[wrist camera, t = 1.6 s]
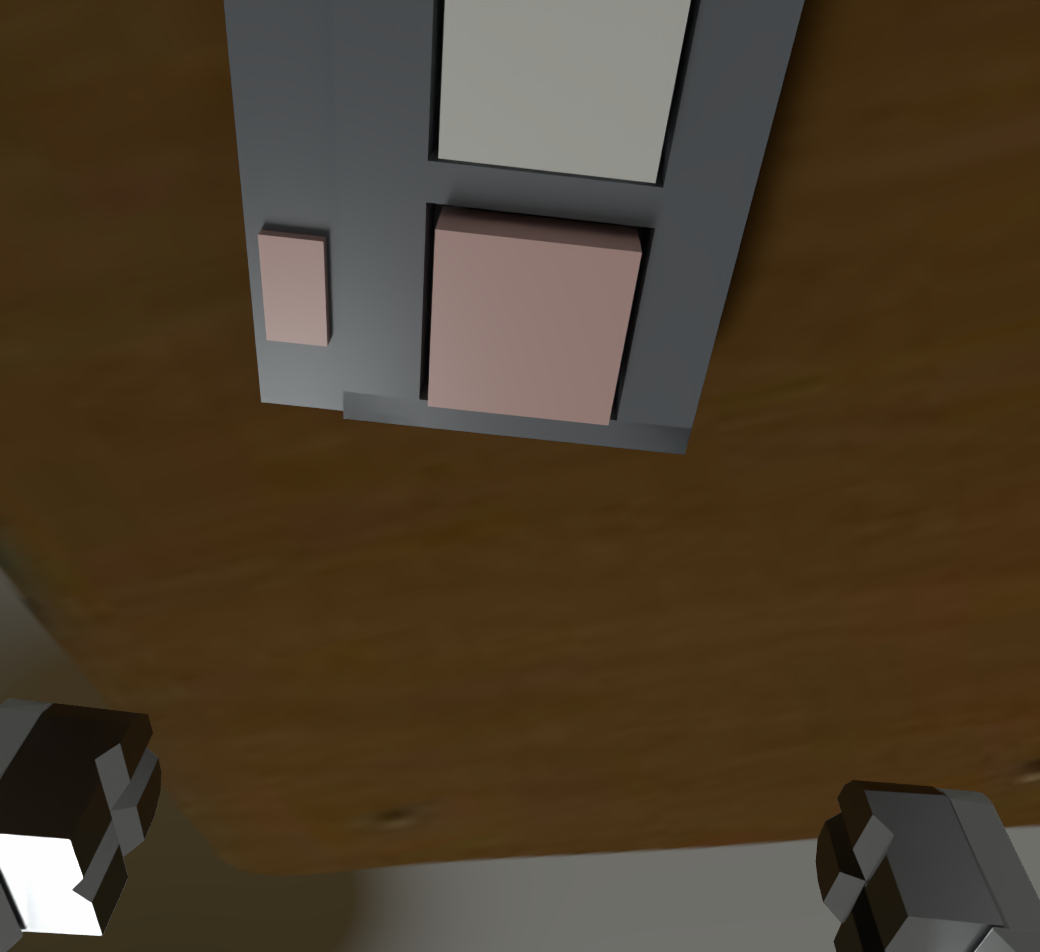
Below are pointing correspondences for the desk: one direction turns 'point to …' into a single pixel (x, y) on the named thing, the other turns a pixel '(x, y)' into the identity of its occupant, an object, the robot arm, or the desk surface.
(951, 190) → the desk surface
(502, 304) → the rose key
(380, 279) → the keypad
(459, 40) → the ivory key
